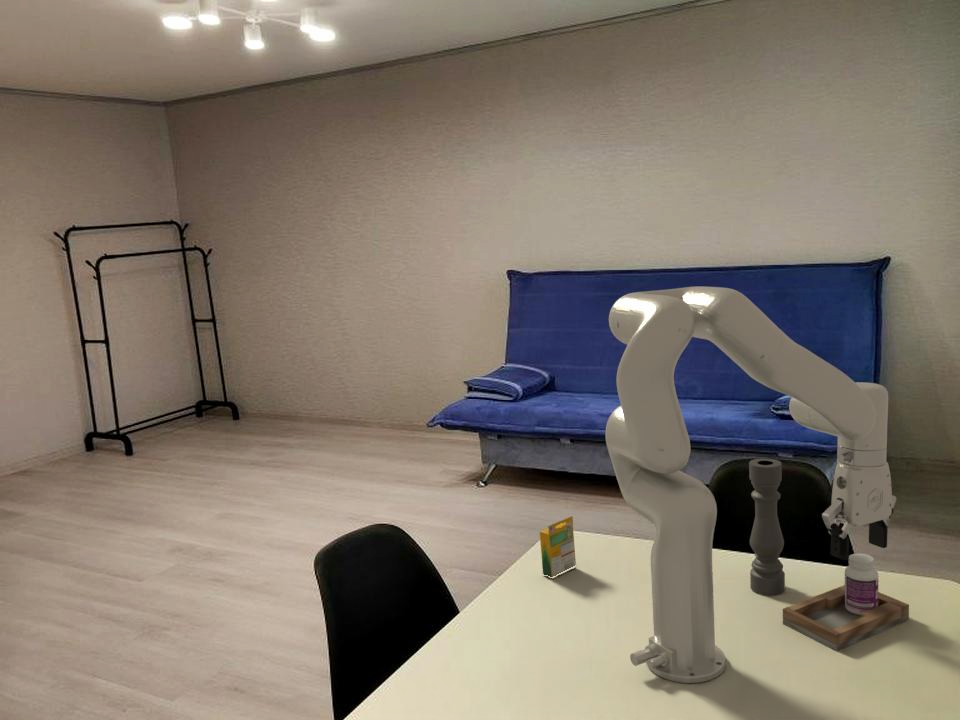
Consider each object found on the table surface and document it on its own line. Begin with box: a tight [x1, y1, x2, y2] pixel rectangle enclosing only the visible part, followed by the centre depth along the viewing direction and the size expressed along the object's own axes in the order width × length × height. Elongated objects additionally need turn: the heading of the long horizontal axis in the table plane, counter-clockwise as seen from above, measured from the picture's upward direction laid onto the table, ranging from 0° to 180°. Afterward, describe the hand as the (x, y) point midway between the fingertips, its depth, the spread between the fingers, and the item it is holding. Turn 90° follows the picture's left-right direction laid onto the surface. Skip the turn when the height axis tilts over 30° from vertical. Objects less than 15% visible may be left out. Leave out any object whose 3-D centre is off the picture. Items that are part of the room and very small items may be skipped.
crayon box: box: [539, 515, 577, 577], centre depth 164 cm, size 7×3×12 cm, turn 130°
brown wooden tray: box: [782, 584, 910, 652], centre depth 136 cm, size 18×11×3 cm, turn 117°
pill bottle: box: [844, 553, 880, 615], centre depth 138 cm, size 5×5×10 cm
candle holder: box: [748, 457, 786, 597], centre depth 149 cm, size 6×6×25 cm
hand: (858, 551), depth 136 cm, fingers open, 9 cm apart
